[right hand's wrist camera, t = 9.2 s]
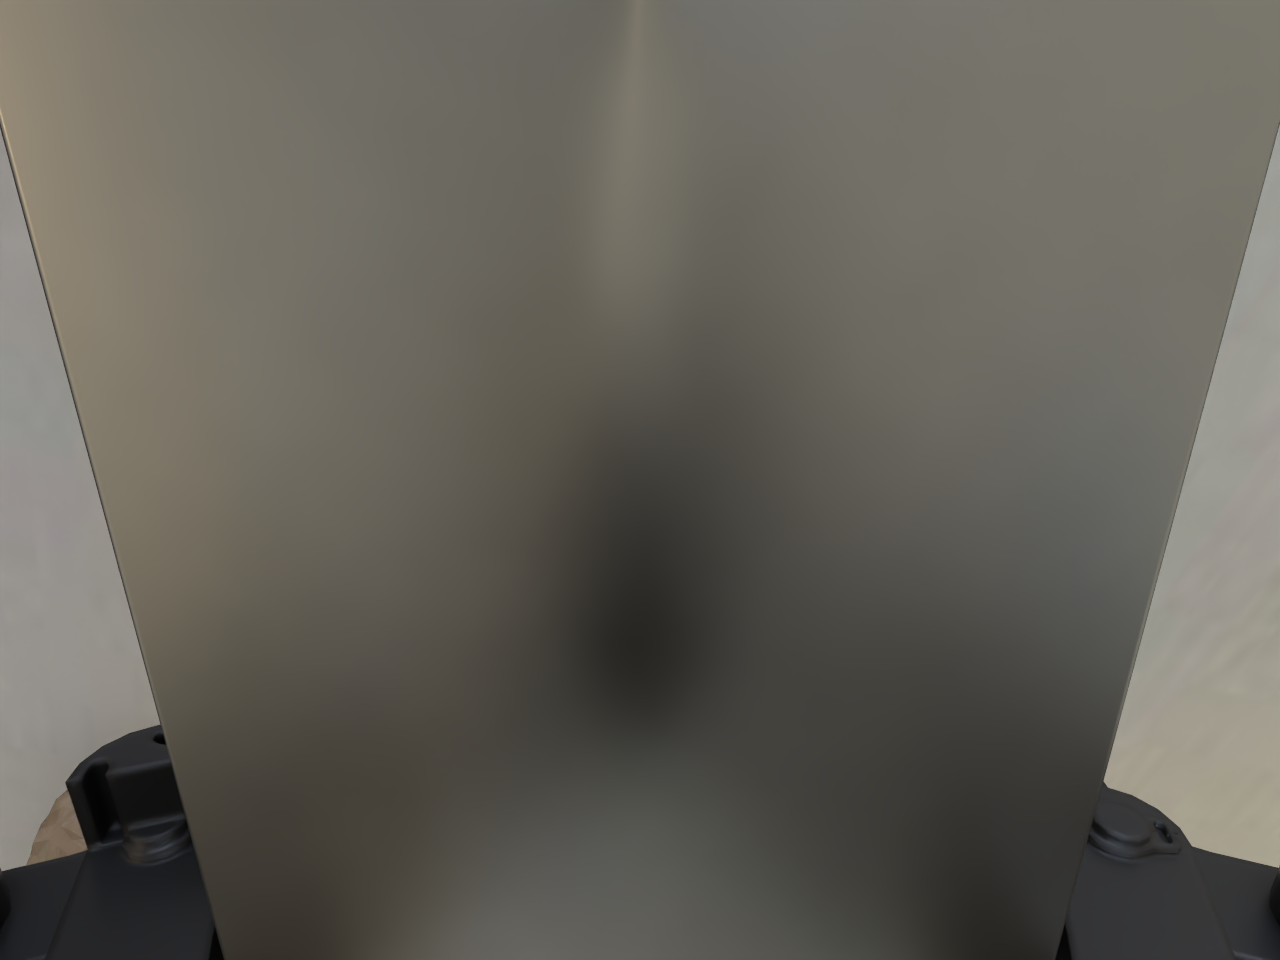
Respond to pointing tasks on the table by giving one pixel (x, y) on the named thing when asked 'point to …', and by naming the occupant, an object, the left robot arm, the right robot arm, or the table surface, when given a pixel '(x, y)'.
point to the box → (639, 443)
